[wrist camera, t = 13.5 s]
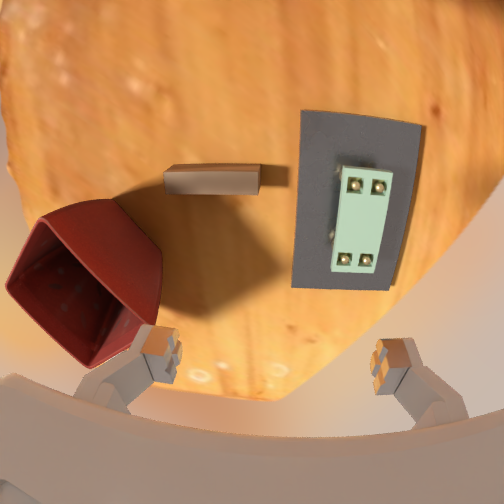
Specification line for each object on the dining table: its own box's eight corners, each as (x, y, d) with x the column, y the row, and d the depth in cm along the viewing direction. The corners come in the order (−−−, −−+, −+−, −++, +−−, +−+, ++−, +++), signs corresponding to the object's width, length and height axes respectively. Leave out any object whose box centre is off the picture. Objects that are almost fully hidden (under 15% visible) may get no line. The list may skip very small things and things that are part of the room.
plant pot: (192, 258, 47) (156, 334, 33) (126, 306, 55) (88, 371, 40) (111, 168, 41) (40, 213, 26) (59, 235, 48) (3, 287, 34)
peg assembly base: (300, 109, 35) (303, 112, 29) (417, 124, 33) (436, 130, 28) (291, 281, 48) (291, 306, 42) (386, 285, 46) (396, 309, 41)
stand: (173, 164, 40) (163, 172, 37) (260, 164, 39) (258, 171, 35) (175, 184, 41) (165, 194, 38) (260, 185, 40) (258, 195, 37)
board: (371, 268, 40) (373, 273, 39) (330, 266, 40) (331, 271, 39) (389, 170, 33) (393, 172, 32) (342, 165, 33) (344, 167, 32)
